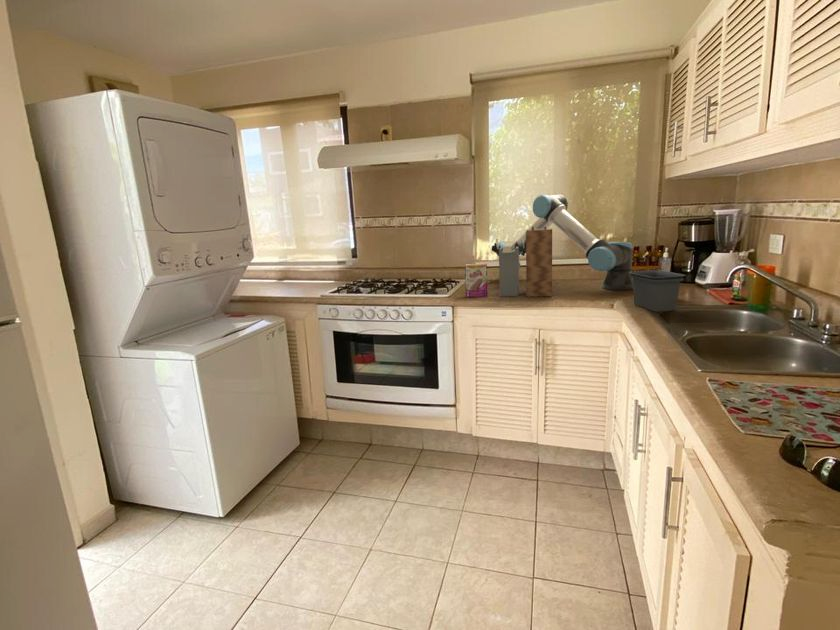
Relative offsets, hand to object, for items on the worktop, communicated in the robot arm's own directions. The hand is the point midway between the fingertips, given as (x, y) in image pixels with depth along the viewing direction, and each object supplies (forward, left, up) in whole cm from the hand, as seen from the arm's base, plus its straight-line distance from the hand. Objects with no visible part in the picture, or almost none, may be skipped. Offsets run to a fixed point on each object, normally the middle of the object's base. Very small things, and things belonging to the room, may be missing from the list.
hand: (509, 240), depth 236 cm
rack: (-2, +8, -26) cm, 28 cm away
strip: (-2, +7, -4) cm, 8 cm away
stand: (-17, +7, -26) cm, 32 cm away
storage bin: (-70, +25, -27) cm, 79 cm away
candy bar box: (+12, +18, -27) cm, 34 cm away
